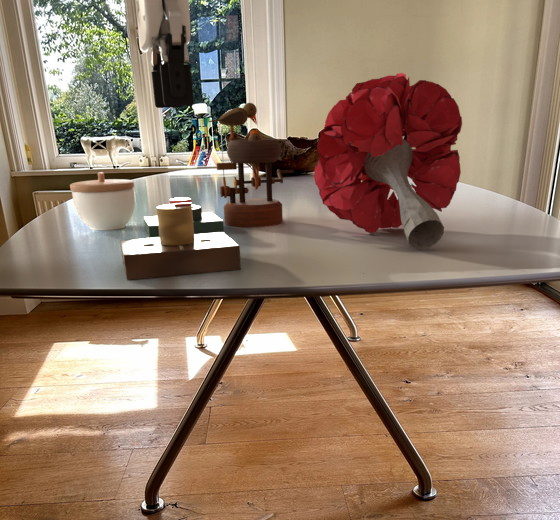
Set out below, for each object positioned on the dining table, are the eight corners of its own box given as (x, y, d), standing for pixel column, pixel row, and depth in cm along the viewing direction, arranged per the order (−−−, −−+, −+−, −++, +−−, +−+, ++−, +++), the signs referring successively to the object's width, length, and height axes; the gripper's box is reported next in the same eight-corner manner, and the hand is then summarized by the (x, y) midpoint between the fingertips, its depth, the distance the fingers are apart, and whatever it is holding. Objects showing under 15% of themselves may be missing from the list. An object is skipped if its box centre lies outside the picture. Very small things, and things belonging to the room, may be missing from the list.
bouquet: (482, 283, 91) (419, 167, 109) (534, 143, 72) (447, 30, 90) (344, 302, 89) (303, 181, 106) (361, 163, 70) (307, 44, 87)
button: (171, 212, 97) (170, 201, 96) (169, 209, 100) (168, 198, 100) (193, 210, 98) (192, 199, 97) (190, 207, 101) (189, 197, 100)
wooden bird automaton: (227, 230, 100) (215, 100, 94) (209, 226, 110) (198, 108, 103) (309, 222, 105) (304, 98, 99) (285, 219, 115) (279, 106, 108)
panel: (127, 280, 71) (123, 253, 70) (122, 262, 80) (119, 239, 79) (240, 269, 75) (239, 244, 74) (224, 253, 84) (223, 230, 82)
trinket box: (94, 235, 99) (85, 176, 96) (66, 228, 107) (57, 173, 103) (150, 226, 106) (144, 171, 102) (120, 220, 113) (113, 168, 110)
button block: (150, 240, 95) (147, 214, 93) (144, 229, 103) (142, 206, 102) (224, 234, 98) (222, 209, 96) (212, 224, 106) (211, 201, 105)
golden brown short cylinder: (162, 247, 74) (158, 207, 72) (158, 240, 78) (154, 202, 76) (197, 244, 75) (194, 204, 73) (192, 238, 79) (188, 200, 77)
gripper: (116, -52, 69) (135, 109, 76) (124, -101, 54) (147, 105, 61) (180, -50, 71) (193, 107, 78) (205, -96, 56) (219, 103, 63)
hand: (173, 106), depth 70 cm, fingers open, 9 cm apart
